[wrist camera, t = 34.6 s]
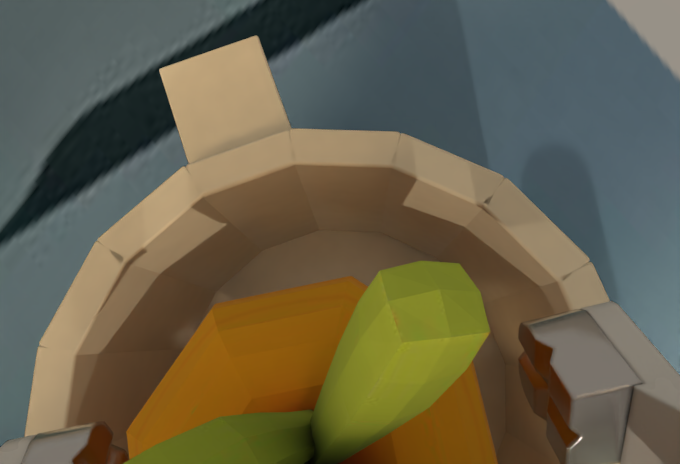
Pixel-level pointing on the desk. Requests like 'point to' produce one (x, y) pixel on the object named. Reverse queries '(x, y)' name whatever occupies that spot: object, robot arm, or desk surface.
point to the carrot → (328, 377)
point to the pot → (295, 248)
